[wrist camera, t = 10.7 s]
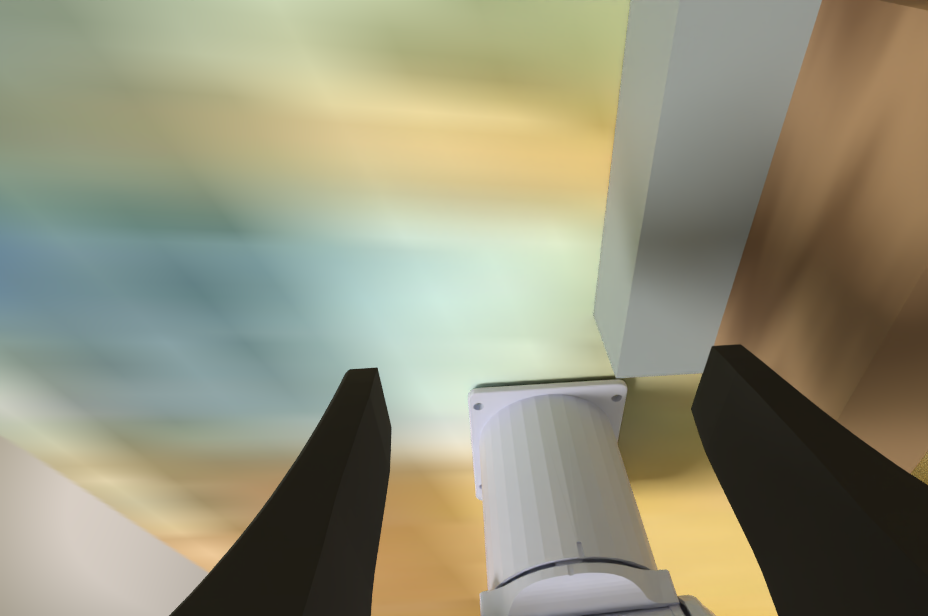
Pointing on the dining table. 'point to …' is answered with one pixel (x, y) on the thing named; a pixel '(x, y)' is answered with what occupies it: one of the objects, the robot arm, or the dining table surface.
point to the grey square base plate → (690, 170)
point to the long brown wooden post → (848, 230)
